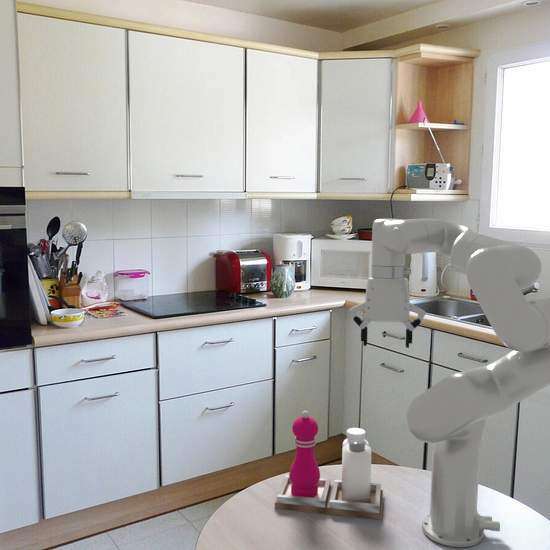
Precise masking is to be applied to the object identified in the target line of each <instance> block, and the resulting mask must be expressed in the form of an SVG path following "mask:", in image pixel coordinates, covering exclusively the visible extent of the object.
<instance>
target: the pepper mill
mask: <svg viewBox="0 0 550 550" xmlns="http://www.w3.org/2000/svg"><path fill="white" fill-rule="evenodd" d="M291 430H292V433H293V435H294V437H293V440H294V442H293V444H294V445H295V446H296V447H295V448H296V449H295V450H296V453H295V458H294V459H293V462H292V464H291V466H290V469H289V473H288V475H289V478H290V480H291V482H292V485H291V493H292V495H293V496H300V497H310V498H313V497H315V496H316V495H317V494H318V485H317V483H318V481H319V480H320V478H321V472H320V468H319V465H318V462H317V460H316V458H315V455H314V454H315V452H314V451H315V449H314V447H315V446H316V443H317V442H316V441H317V438H316V436H317V435H318V433H319V424H318V422H317V421H316V419H315V418H313V417H311V416H310V412H309V411H308V410H303V411H302V412H301V416H299V417H297V418H296V419H294V420H293V423H292V427H291Z"/></svg>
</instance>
